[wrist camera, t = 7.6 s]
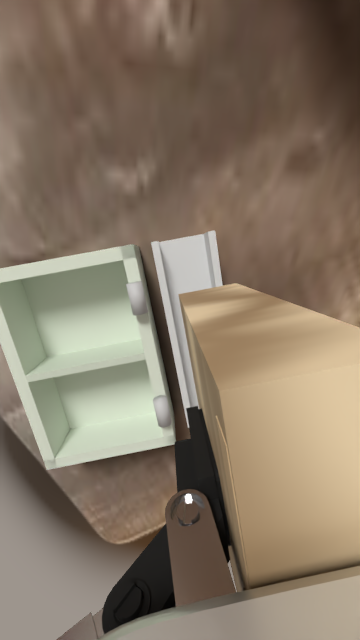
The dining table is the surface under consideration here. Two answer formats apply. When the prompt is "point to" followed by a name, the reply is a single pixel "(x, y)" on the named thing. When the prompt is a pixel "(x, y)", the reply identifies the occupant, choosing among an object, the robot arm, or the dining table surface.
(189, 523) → the robot arm
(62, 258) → the cabinet
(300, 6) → the dining table surface
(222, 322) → the beige flat block
